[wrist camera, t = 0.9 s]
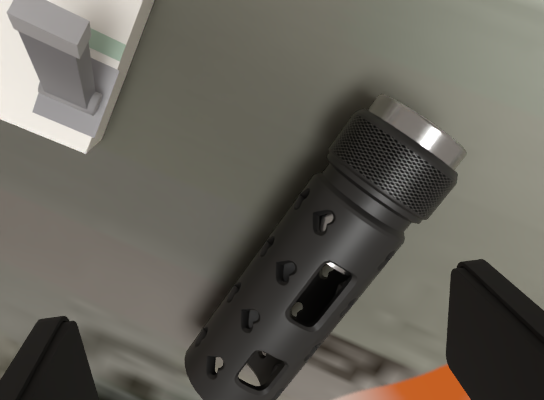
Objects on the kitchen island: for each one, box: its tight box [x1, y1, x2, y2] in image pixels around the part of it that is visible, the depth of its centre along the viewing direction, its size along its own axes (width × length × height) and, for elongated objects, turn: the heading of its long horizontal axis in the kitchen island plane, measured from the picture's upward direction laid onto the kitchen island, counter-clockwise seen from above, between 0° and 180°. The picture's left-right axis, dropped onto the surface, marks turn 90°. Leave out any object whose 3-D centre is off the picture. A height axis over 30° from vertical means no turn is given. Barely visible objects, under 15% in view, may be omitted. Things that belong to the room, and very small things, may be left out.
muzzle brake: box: [185, 94, 467, 400], centre depth 38 cm, size 10×28×10 cm, turn 145°
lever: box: [6, 0, 102, 116], centre depth 26 cm, size 2×4×11 cm
